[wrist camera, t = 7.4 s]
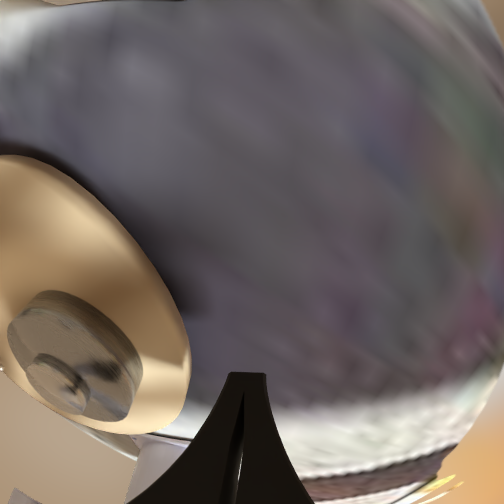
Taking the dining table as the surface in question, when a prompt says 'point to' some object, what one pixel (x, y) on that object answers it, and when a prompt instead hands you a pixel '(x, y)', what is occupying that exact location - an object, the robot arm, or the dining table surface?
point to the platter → (88, 284)
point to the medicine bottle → (66, 1)
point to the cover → (76, 356)
